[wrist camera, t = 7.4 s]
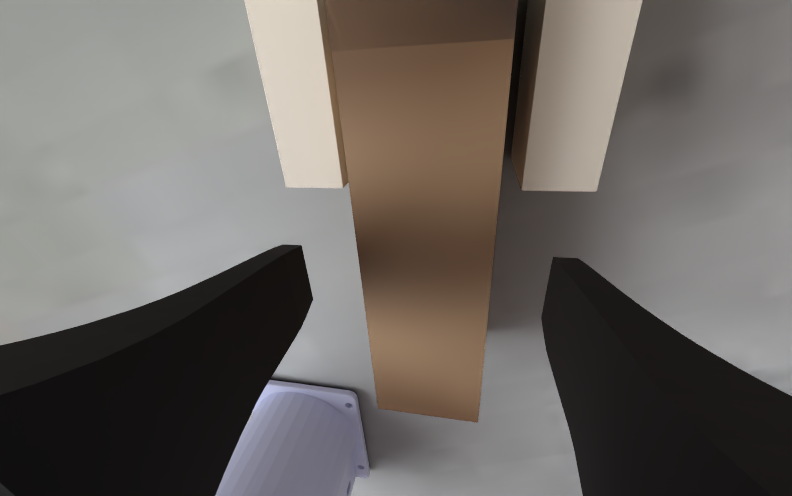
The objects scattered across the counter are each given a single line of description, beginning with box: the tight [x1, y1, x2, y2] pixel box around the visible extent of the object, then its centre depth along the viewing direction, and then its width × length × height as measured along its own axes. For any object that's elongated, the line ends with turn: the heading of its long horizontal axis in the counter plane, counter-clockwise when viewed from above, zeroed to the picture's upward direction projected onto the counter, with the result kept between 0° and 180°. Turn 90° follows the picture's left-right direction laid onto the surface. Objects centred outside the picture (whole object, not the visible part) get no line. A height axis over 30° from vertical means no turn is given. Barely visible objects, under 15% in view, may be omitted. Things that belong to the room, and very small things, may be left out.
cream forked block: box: [244, 0, 643, 192], centre depth 9 cm, size 8×10×6 cm
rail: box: [325, 0, 518, 422], centre depth 13 cm, size 14×4×5 cm, turn 4°
